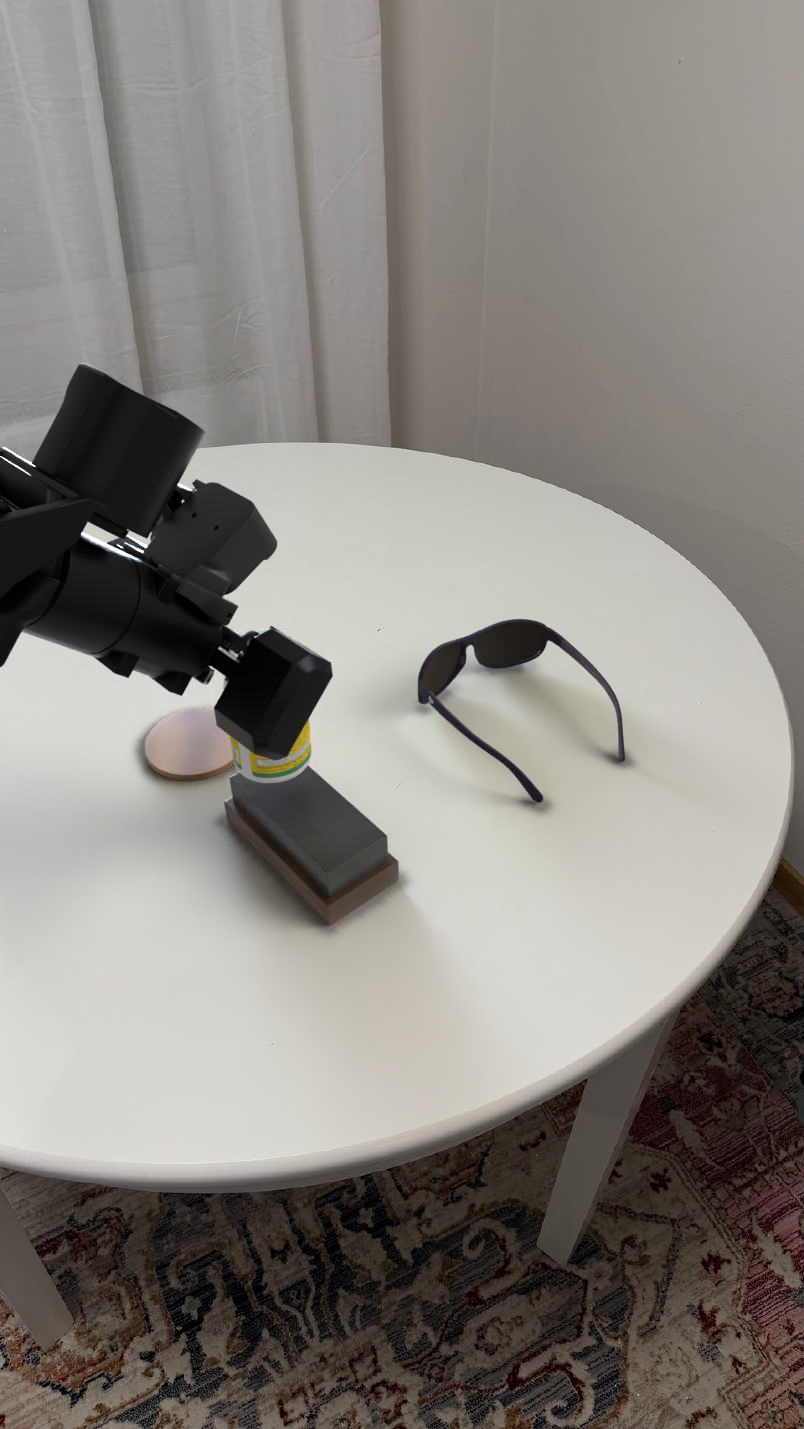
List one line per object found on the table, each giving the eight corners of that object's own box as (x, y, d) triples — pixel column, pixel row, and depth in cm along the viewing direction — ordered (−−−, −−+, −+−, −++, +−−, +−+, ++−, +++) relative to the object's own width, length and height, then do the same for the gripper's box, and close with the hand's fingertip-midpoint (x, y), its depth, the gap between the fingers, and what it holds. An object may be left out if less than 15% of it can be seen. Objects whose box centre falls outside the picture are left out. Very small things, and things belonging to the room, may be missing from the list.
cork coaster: (156, 792, 76) (155, 786, 76) (136, 727, 82) (135, 722, 81) (258, 764, 78) (257, 758, 78) (232, 703, 84) (231, 697, 84)
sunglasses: (526, 649, 89) (530, 602, 86) (653, 748, 79) (662, 700, 76) (398, 705, 84) (397, 657, 80) (517, 819, 74) (521, 770, 70)
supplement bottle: (218, 766, 69) (198, 653, 62) (268, 723, 72) (255, 612, 66) (279, 797, 66) (265, 683, 60) (328, 752, 70) (320, 639, 63)
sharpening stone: (399, 880, 69) (398, 836, 66) (329, 926, 66) (325, 882, 64) (293, 783, 77) (288, 739, 74) (226, 820, 74) (218, 776, 71)
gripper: (292, 528, 47) (447, 625, 60) (78, 412, 57) (251, 517, 70) (177, 735, 48) (355, 786, 61) (-14, 584, 58) (174, 656, 71)
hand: (281, 675), depth 66 cm, fingers closed on supplement bottle, 5 cm apart
